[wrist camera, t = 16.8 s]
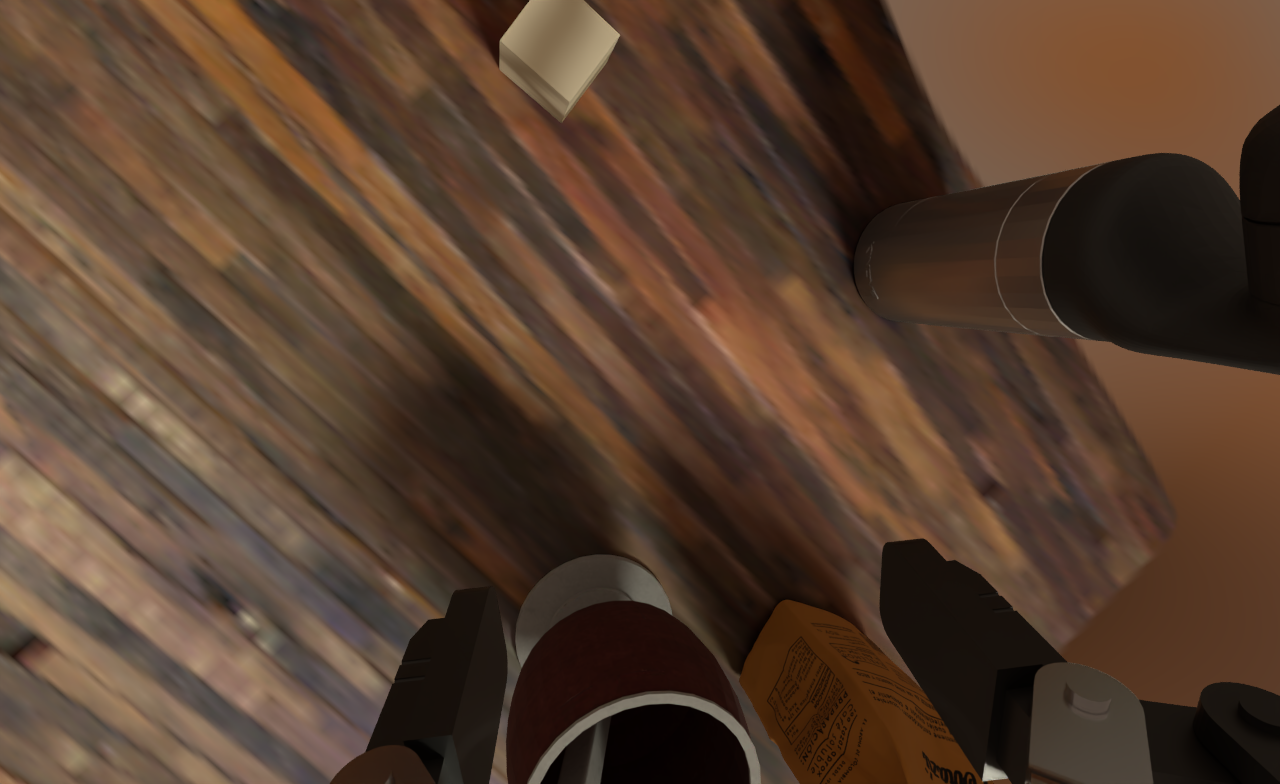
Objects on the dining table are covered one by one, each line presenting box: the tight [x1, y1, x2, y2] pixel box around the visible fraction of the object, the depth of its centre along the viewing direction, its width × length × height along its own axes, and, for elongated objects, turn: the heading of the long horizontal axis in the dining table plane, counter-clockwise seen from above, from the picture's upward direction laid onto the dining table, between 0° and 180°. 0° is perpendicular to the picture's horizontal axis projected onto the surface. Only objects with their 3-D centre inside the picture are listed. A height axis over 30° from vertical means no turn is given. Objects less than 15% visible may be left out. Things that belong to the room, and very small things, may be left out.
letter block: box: [499, 0, 620, 123], centre depth 38 cm, size 5×5×5 cm
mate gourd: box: [506, 554, 761, 784], centre depth 38 cm, size 16×14×20 cm
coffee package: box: [739, 600, 994, 784], centre depth 43 cm, size 10×12×22 cm
